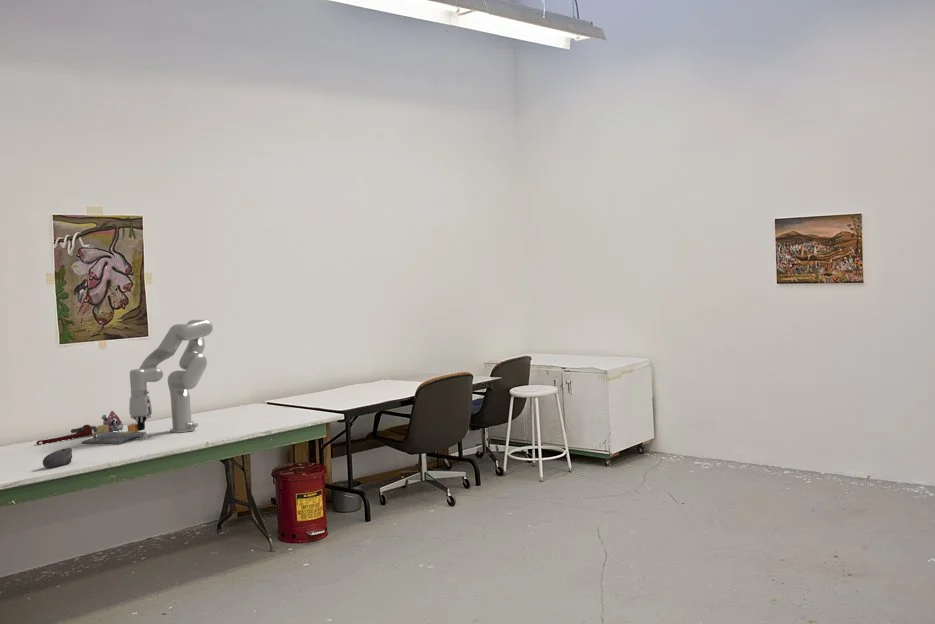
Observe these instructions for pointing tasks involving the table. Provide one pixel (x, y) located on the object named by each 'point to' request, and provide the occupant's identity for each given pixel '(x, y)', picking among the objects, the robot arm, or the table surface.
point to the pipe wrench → (80, 432)
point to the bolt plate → (112, 436)
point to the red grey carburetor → (112, 422)
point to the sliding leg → (131, 429)
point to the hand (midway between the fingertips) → (141, 429)
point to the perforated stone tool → (58, 458)
